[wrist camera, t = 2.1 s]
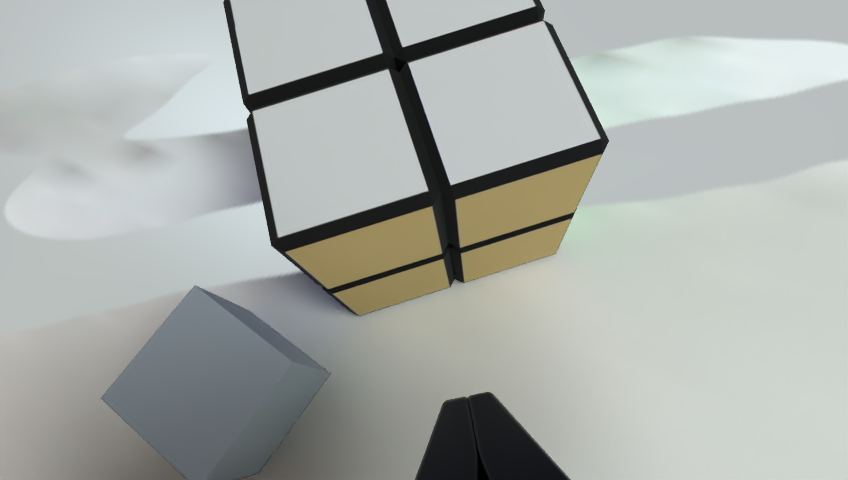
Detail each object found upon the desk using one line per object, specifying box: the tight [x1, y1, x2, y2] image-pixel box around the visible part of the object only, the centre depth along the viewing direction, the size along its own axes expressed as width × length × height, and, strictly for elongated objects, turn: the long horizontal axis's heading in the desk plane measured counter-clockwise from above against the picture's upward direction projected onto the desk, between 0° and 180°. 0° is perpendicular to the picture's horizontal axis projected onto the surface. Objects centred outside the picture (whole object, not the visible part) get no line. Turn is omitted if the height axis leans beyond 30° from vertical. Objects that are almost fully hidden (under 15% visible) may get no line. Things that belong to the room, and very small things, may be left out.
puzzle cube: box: [224, 0, 609, 316], centre depth 20 cm, size 10×10×10 cm
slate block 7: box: [101, 286, 331, 480], centre depth 20 cm, size 5×5×5 cm
